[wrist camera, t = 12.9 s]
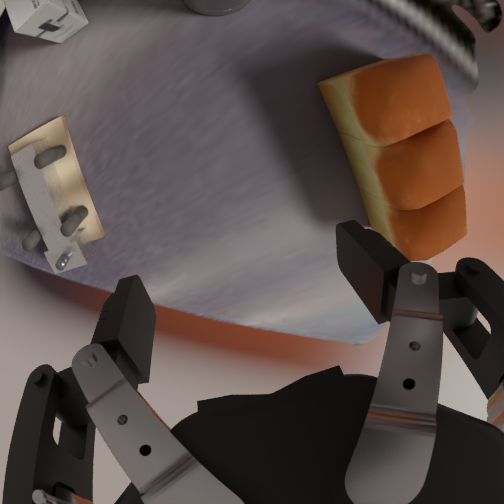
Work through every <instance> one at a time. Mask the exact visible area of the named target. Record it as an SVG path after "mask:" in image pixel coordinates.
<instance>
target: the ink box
mask: <svg viewBox="0 0 504 504" xmlns="http://www.w3.org/2000/svg"><path fill="white" fill-rule="evenodd" d="M4 3H5V6H6V9H7V12H8V15H9V18H10V21H11V24H12V26H13V29H14V32H16V33H20V34H25V35H30V36H34V37H38V38H42V39H46V40H50V41H54V42H57V43H62V42H63V41H65V40H66V39H67V38H69V37H70V36H71V35H73V34H74V33H75V32H77V31H78V30H80V29H81V28H83V27H84V26H86V25H87V24H88V20H87V18H86V16H85V14H84V12H83V10H82V8H81V6H80V4H79V2H78V0H4Z"/></svg>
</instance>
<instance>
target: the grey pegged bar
mask: <svg viewBox="0 0 504 504" xmlns="http://www.w3.org/2000/svg"><path fill="white" fill-rule="evenodd" d="M49 149H50V148H49V144H48V141H47V138H45V139H43V140H40V141H37V142H34V143H32V144H30V145H28V146H27V147H25V148H23V149H22V150H20V151H18V152H17V153H15V154H13V155H12V156H11V159H12V162H13V165H14V168H15V171H16V174H17V177H18V180H19V182H20V185H21V188H22V191H23V193H24V196H25V198H26V201H27V203H28V206H29V208H30V211H31V213H32V215H33V218H34V220H35V222H36V225H37V227H38V229H39V231H40V233H41V235H42V238H43V240H44V242H45V244H46V246H47V249H46V251H45V252H44V254H45V256H46V258H47V260H48V261H49V263H50V265H51V267H52V269H53V271H54V273H55V274H57V273H60V272H63V271H67V270H70V269H73V268H76V267H79V266H83V265H86V264H88V262H89V260H90V259H91V257H92V255H93V253H94V252H95V250H96V249H95V247H94V245H93V243H92V240H91V238H90V236H89V234H88V231H87V229H86V228H84V229H81V230H80V228H79V226H78V228H77V229H76V230H75V231H74V233H73V234H72V235H71V236H70V237H65V236H63V235H62V233H61V231H60V227H61V225H62V224H63V223H64V222H65V221H66V220H67V219H68V217H69V216H70V215H71V214H72V213H73V211H72V209H71V206H70V204H69V201H68V199H67V196H66V194H65V191H64V189H63V186H62V183H61V180H60V178H59V175H58V172H57V169H56V166H55V163H54V162H53V163H51V164H50V165H48V166H46V167H44V168H42V169H37V168H36V167H35V165H34V158H35V156H36V155H37V154H40V153H42V152H44V151H46V150H49Z"/></svg>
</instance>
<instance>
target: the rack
mask: <svg viewBox="0 0 504 504" xmlns="http://www.w3.org/2000/svg"><path fill="white" fill-rule="evenodd" d="M45 138H47V141H48V144H49V148H50V149H49V150H46V151H44V152H42V153H40V154H37V155H36V156H35V158H34V165H35V167H36V168H37V169H42V168H44V167H46V166H48V165H50V164H51V163H53V162H54V163H55V166H56V169H57V172H58V175H59V178H60V180H61V183H62V186H63V189H64V191H65V194H66V196H67V199H68V201H69V204H70V206H71V209H72V211H73V213H72V214H71V215H70V216H69V217H68V219H67V220H66V221H65V222H64V223H63V224H62V225H61V227H60V231H61V233H62V235H63V236H65V237H70V236H71V235H72V234H73V233H74V231H75V230H76V229H77V228H78V226H79V228H80V230H81V229H84V228H86V229H87V231H88V234H89V236H90V238H91V240H96V239H99V238H102V237H103V236H104V234H105V232H104V230H103V227H102V225H101V223H100V220H99V218H98V215H97V213H96V210H95V208H94V205H93V203H92V200H91V197H90V195H89V192H88V189H87V187H86V184H85V181H84V178H83V175H82V173H81V170H80V167H79V164H78V161H77V158H76V154H75V151H74V148H73V145H72V142H71V138H70V135H69V131H68V128H67V124H66V121H65V117H64V116H60V117H58V118H56V119H54V120H52V121H51V122H49V123H47V124H45V125H43V126H41V127H40V128H38V129H36V130H34V131H32V132H31V133H29V134H27V135H26V136H24V137H22V138H21V139H19V140H17V141H16V142H14V143H13V144H11V145H10V146H8V148H9V151H10V154H11V156H12V155H13V154H15V153H17V152H18V151H20V150H22V149H23V148H25V147H27V146H28V145H30V144H32V143H34V142H37V141H40V140H43V139H45ZM17 181H19V180H18V177H17V174H16V171H15V169H13V170H11V171H9V172H7V173H6V174H4V175H2V176H0V190H1V191H2V190H4V189H6V188H7V187H9V186H10V185H12V184H14V183H15V182H17ZM41 239H42V235H41V233H40V231H39V229H38V227H36V228H35V229H34V230H33V231H32V232H31V233H30V234H29V235H28V236H27V237H26V238H25V239H24V240H23V241H22V247H23V249H24V250H25V251H27V252H30V251H31V250H32V249H33V248H34V247H35V246H36V245H37V243H38V242H39V241H40V240H41Z"/></svg>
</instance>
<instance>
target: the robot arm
mask: <svg viewBox="0 0 504 504" xmlns="http://www.w3.org/2000/svg"><path fill="white" fill-rule="evenodd" d="M183 1H184V3H185V4H186V5H187V6H188V7H189V8H190V9H192V10H193V11H195V12H198V13H200V14H204V15H208V16H222V15H227V14H231V13H234V12H236V11H238V10H240V9H241V8H243V7H244V6H245V5H246V4H247V3H248V2H249V1H250V0H183ZM336 244H337V260H338V265H339V268H340V270H341V272H342V273H343V275H344V276H345V277H346V279H347V280H348V282H349V283H350V284H351V286H352V287H353V289H354V290H355V291H356V293H357V294H358V296H359V297H360V298H361V300H362V301H363V303H364V304H365V306H366V307H367V309H368V310H369V311H370V313H371V314H372V316H373V317H374V319H375V320H376V322H377V323H378V325H379V324H381V323H384V322H386V321H389V322H390V328H389V333H388V338H387V343H386V347H385V352H384V356H383V360H382V364H381V368H380V372H379V376H378V378H377V377H374V376H369V375H363V374H345V375H344V374H343V372H342V370H341V368H340V366H339V365H338V366H335V367H332V368H329V369H326V370H324V371H320V372H317V373H314V374H310V375H307V376H305V377H303V378H301V379H299V380H297V381H295V382H293V383H292V384H290V385H288V386H286V387H284V388H282V389H280V390H278V391H276V392H274V393H271V394H261V395H228V396H223V397H218V398H213V399H207V400H201V401H197V403H198V404H197V405H198V412H196V413H193V414H191V415H190V416H188V417H186V418H185V419H183V420H181V421H180V422H179V423H178V424H176V425H175V426H174V427H173V428H172V429H170V428H169V426H167V424H166V423H165V422H164V421H163V420H162V419H161V418H160V417H159V416H158V414H157V413H156V412H155V411H154V410H153V409H152V407H151V406H150V405H149V404H148V403H147V402H146V400H145V399H144V398H143V397H142V396H141V394H140V393H139V392H138V391H137V389H138V384H142V383H148V382H149V376H150V365H151V355H152V347H153V338H154V330H155V323H156V313H155V309H154V306H153V303H152V301H151V299H150V297H149V295H148V293H147V291H146V289H145V287H144V285H143V283H142V281H141V279H140V277H139V276H138V275H134V276H130V277H126V278H122V279H120V280H119V282H118V284H117V287H116V290H115V293H112V294H111V295H110V296H109V298H108V299H107V300H106V301H105V303H104V305H103V308H102V311H101V314H100V317H99V321H98V323H97V326H96V329H95V332H94V335H93V338H92V341H91V344H90V345H87V346H85V347H83V348H82V349H80V350H79V351H78V352H77V353H76V355H75V356H74V358H73V360H72V367H69V368H67V369H65V370H63V371H60V372H58V373H57V372H56V371H55V370H54V369H53V368H52V366H50V365H47V364H45V365H41V366H39V367H37V368H36V369H35V370H34V371H33V372H32V373H31V374H30V376H29V378H28V380H27V383H26V386H25V389H24V393H23V396H22V399H21V403H20V407H19V410H18V414H17V418H16V422H15V426H14V430H13V435H12V440H11V444H10V449H9V455H8V461H7V467H6V474H5V482H4V491H3V502H2V504H93V499H92V498H93V495H92V494H93V493H92V491H93V490H92V489H93V483H92V482H93V457H94V441H95V429H96V427H97V429H98V431H99V433H100V434H101V436H102V437H103V439H104V441H105V443H106V444H107V446H108V447H109V449H110V450H111V452H112V454H113V455H114V456H115V458H116V460H117V461H118V463H119V464H120V465H121V467H122V468H123V470H124V471H125V473H126V474H127V476H128V477H129V478H130V480H131V481H132V482H131V483H130V484H129V486H128V487H127V488H126V490H125V491H124V492H123V493H122V495H121V496H120V497H119V498H118V500H117V501H116V502H115V503H114V504H504V281H503V280H502V279H501V278H500V277H499V276H498V275H497V274H496V273H495V272H494V271H493V270H492V269H491V268H490V267H489V266H488V265H486V264H485V263H484V262H482V261H481V260H479V259H476V258H463V259H460V260H459V261H458V262H457V265H456V269H455V272H446V273H437V271H436V270H435V269H434V268H433V267H431V266H430V265H428V264H425V263H421V262H410V261H409V260H408V259H407V258H406V257H405V256H404V255H403V254H402V253H401V252H400V251H399V250H398V249H397V248H395V247H394V246H393V245H392V244H391V243H390V242H389V241H387V239H386V238H384V237H383V236H382V235H381V234H380V233H378V232H376V231H373V230H371V229H364V228H363V227H362V226H361V225H360V224H359V223H358V222H357V221H355V220H351V221H347V222H343V223H339V224H337V225H336ZM478 311H479V312H480V313H481V314H482V315H483V316H484V317H485V319H486V320H487V321H488V323H489V324H490V327H491V335H490V333H489V332H488V331H487V330H486V328H485V327H484V326H483V325H482V323H481V322H480V321H479V320H478V318H477V314H478ZM443 332H444V333H445V335H446V336H447V337H448V339H449V340H450V342H451V343H452V345H453V346H454V348H455V349H456V351H457V352H458V353H459V355H460V356H461V358H462V359H463V361H464V362H465V364H466V365H467V367H468V369H469V370H470V371H471V373H472V375H473V376H474V378H475V380H476V381H477V383H478V384H479V386H480V387H481V389H482V391H483V393H484V394H485V396H486V398H487V399H488V404H487V412H488V417H487V422H486V421H483V420H480V419H477V418H475V417H472V416H469V415H467V414H464V413H462V412H459V411H456V410H454V409H451V408H449V407H446V406H444V405H441V404H438V395H439V387H440V378H441V367H442V351H443ZM55 417H57V418H58V419H59V420H60V421H62V423H61V430H60V437H59V443H58V445H57V444H56V442H55V441H54V438H53V428H54V422H55Z"/></svg>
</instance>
